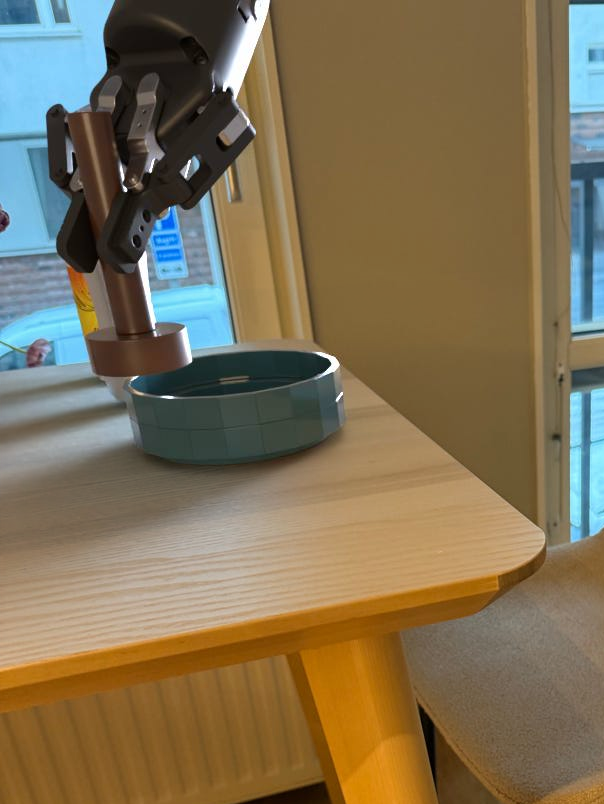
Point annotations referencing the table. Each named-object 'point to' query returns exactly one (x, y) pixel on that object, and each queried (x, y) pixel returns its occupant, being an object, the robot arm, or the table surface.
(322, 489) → the table surface
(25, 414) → the table surface
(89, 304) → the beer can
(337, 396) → the bowl
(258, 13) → the robot arm
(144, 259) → the silver bottle
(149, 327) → the brown rod on disc
